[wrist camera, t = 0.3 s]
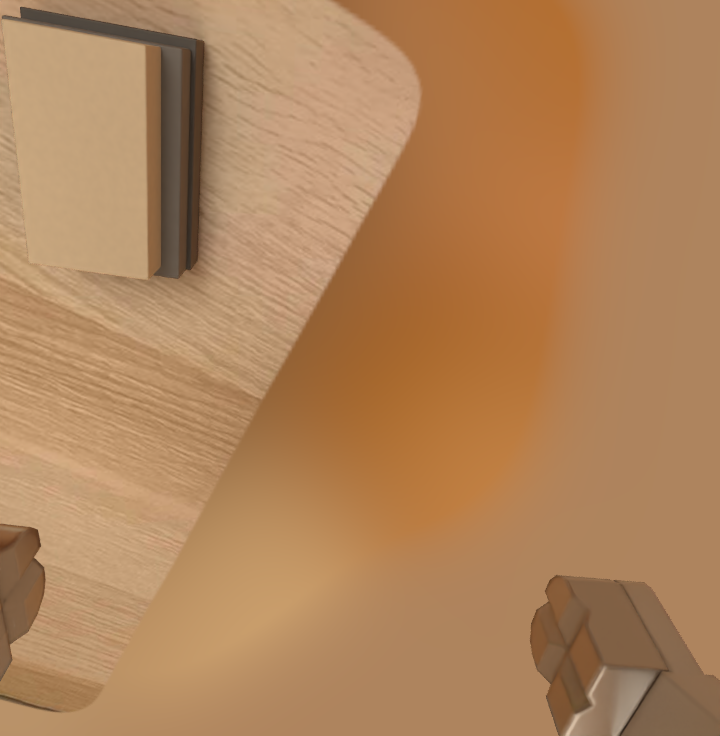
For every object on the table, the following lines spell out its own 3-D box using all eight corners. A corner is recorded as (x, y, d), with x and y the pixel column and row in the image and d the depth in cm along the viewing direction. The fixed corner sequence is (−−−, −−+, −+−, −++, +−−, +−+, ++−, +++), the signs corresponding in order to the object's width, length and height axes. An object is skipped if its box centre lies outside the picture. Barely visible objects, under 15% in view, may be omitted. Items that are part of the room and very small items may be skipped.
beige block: (28, 22, 21) (0, 18, 20) (161, 47, 22) (145, 44, 20) (49, 250, 26) (28, 263, 24) (161, 266, 26) (148, 281, 24)
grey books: (37, 10, 24) (-2, 2, 21) (204, 41, 25) (187, 37, 22) (57, 240, 28) (27, 258, 26) (197, 261, 29) (183, 280, 26)
